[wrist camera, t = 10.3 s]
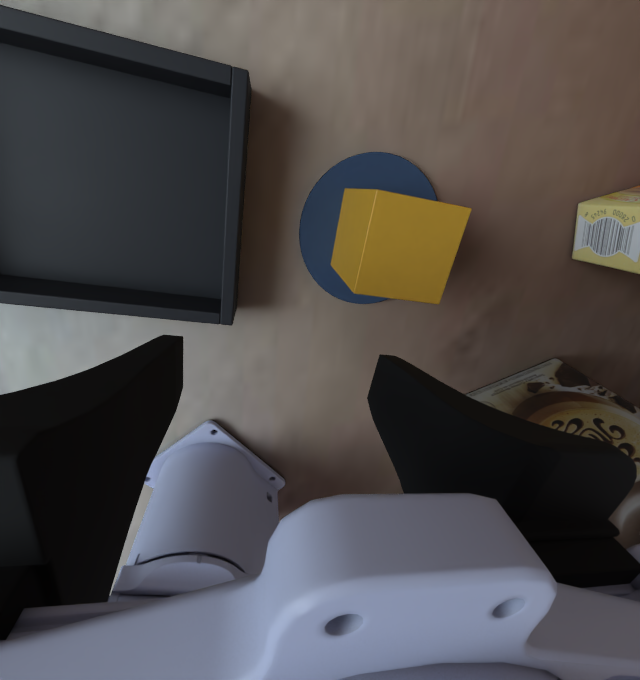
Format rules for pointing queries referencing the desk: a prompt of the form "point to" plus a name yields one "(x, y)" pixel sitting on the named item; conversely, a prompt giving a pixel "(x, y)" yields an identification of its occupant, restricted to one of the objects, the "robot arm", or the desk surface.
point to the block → (397, 244)
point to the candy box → (609, 231)
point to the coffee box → (575, 420)
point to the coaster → (326, 208)
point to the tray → (118, 173)
